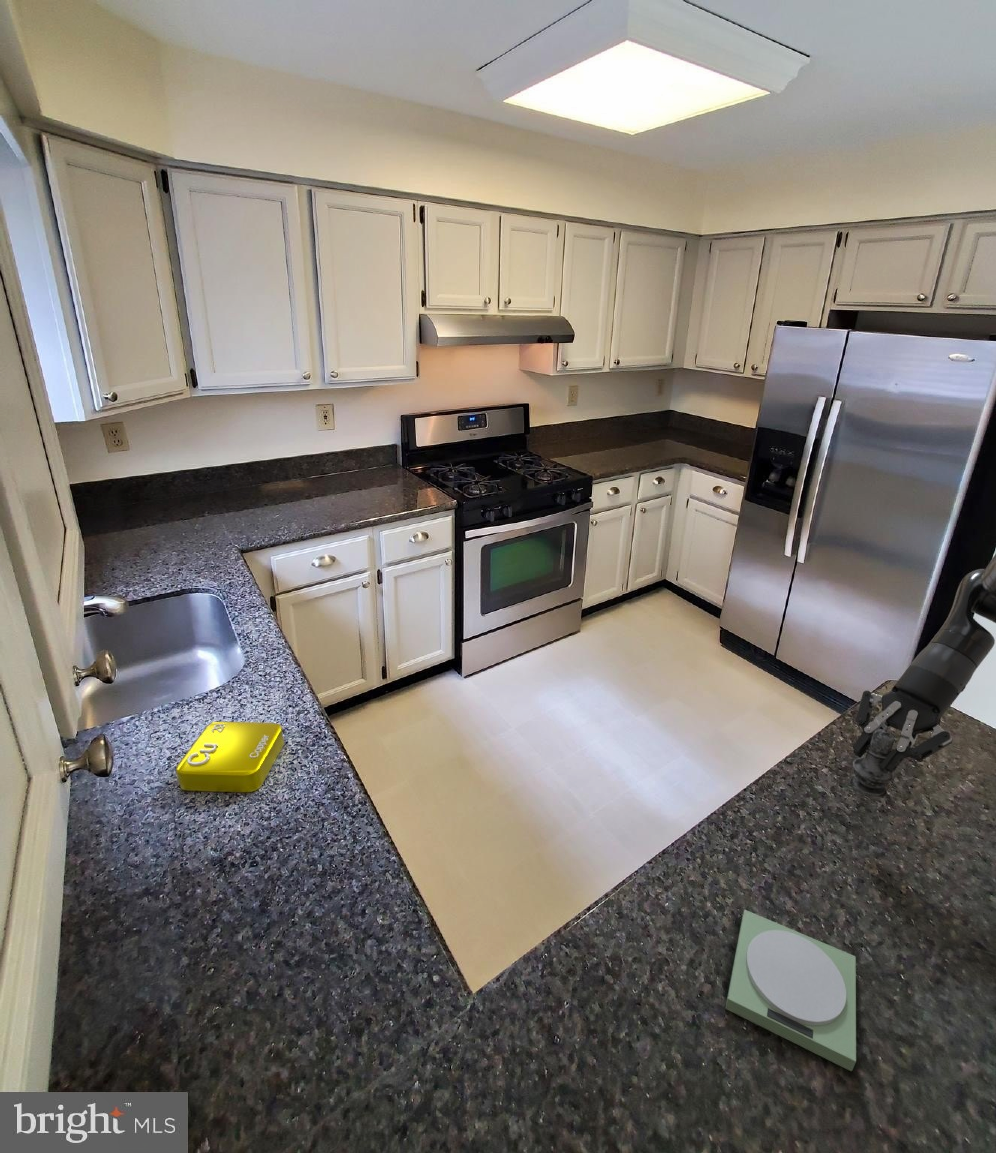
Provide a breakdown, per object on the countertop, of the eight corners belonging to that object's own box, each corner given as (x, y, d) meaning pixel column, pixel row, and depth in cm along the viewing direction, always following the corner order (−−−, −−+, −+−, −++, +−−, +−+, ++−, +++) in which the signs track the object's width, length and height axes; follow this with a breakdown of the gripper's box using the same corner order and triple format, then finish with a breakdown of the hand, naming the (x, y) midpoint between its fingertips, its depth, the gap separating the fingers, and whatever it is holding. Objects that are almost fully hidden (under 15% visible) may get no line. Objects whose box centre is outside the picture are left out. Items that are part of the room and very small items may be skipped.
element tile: (258, 794, 107) (254, 773, 105) (175, 791, 107) (170, 770, 105) (287, 739, 121) (284, 720, 119) (214, 737, 121) (210, 718, 119)
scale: (852, 966, 80) (857, 952, 79) (851, 1072, 69) (858, 1057, 67) (741, 918, 86) (745, 905, 85) (725, 1008, 75) (728, 994, 74)
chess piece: (893, 803, 95) (913, 742, 90) (851, 794, 96) (869, 734, 92) (884, 779, 100) (903, 719, 95) (844, 771, 101) (862, 712, 97)
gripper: (885, 648, 99) (821, 729, 98) (981, 691, 87) (910, 783, 87) (895, 667, 103) (834, 745, 103) (988, 711, 92) (920, 799, 91)
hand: (869, 762), depth 95 cm, fingers closed on chess piece, 3 cm apart
